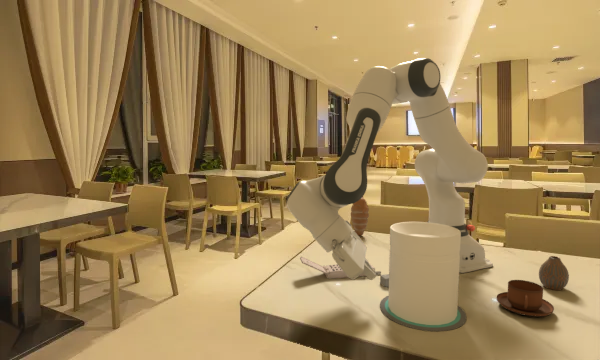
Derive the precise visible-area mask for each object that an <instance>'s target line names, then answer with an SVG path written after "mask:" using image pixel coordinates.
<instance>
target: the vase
mask: <svg viewBox="0 0 600 360" xmlns="http://www.w3.org/2000/svg"><path fill="white" fill-rule="evenodd" d="M538 279H539V281H540V283H541V284H542V285H543V286H544V287H545V288H547V289H550V290H553V291H560V290H563V289H565V288H566V286H568V283H569V279H570V274H569V270H568V269H567V267H566V265H565V264H564V263H563V261H562V260H561V257H559V256H556V255H555V256H554V255H550V256H549V257H548V259H546V261H544V262H543V263H542V264H541V265H540V267H539V270H538Z"/></svg>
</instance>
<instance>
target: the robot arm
mask: <svg viewBox="0 0 600 360" xmlns="http://www.w3.org/2000/svg"><path fill="white" fill-rule="evenodd" d="M407 102H408V103H409V104H410V105H409V106H410V109H411V114H412V117H413V119H414V123H415V125H416V128H417V131H418V134H419V136H420V139H421V140H422V141H423V142H424V144H426V145H429V146H430V147H431V148H429V149H425V150H422V151H420V152H419V153H418V154H417V155H416V157H415V159H414V170H415V172H416V173H417V175H418V176H419V177H420V178H421V179H422V181H423V183H424V186H425V189H426V192H427V196H428V221H427V222H429V223H437V224H443V225H448V226H451V227H454V228H456V229H458V230H460V232H461V240H460V252H459V255H460V262H459V274H463V273H468V272H474V271H478V270H482V269H487V268H491V267H492V268H493V267H494V265H493V262H492V261H491V260H490V259H487V258H486V251H485V248H484V246H483V245H482V244H481V243H479V242H478V241H477V240H476V239H475V238H474V237H472V236H471V235H470V234H469V231H470V232H475V230H476V226H475V225H473V224H466V223H465V217H466V216H465V213H466V210H465V209H466V202H465V199H464V198H463V196H462V195H461V194H460V193H458V191H457V190H456V187H455V184H472V183H479V182H480V181H482V180H483V179H484V178H485V176H486V174H487V172H488V168H489V167H488V166H489V163H488V160H487V158H486V156H485V154H484V153H482V152H481V151H479V150H477V149H476V148H474V147H473V145H471V144H470V143H469V141H468V140H467V139H466V138H465V137H464V136H463V134H462V132H460V130H459V129H458V126H457V124H456V121H455V119H454V115H453V113H452V109H451V107H450V103H449V100H448V98H447V94H446V93H445V90H444V88H443V86H442V84H441V71H440V68H439V66H438V65H437V63H436V62H435V61H434V60H433V59H430V58H426V57H420V58H416V59H414V60H411V61H406V62H402V63H399V64H396V65H395V66H392V67H390V68H388V67H386V66H382V65H381V66H380V65H377V66H372V67H370V68H369V69H367V70H366V71H365V73H364V74H363V76H362V77H361V79H360V80H359V82H358V84H357V85H356V88H355V90H354V91H353V95H352V97H351V99H350V102H349V103H348V104H349V105H348V107H347V108H348V109H347V112H346V119H345V120H346V123H347V124H348V127H349V128H350V132H349V133H348V138H347V139H346V143H345V146H344V149H343V151H342V153H341V156H340V157H339V159H337V160H336V161H335V162H334V163H333V164H332V165H331V166H330V167H329V168H328V169H327V171H326V173H325V174H324V175H321V176H319V177H317V178H313V179H307V180H300V181H299V182H297V183H296V185H294V187H293V188H292V189H291V190H290V192H289V194H288V196H287V198H286V207H287V209H288V210H289V212H290V213H291V215H292V216H293V217H294V218H295V219H296V221H297V222H298V223H299V225H301V226H302V227H303V228H305V229H306V230H307V231H309V233H310V234H311V235H312V236H311V237H313V239H314V240H315V241H316V242H317V243H318V244H319V245H320V246H321V248H322V249H323V250H324V251H325V252H326V253H330V252H331V251H332V253H331V255H332V258H333V260H334V261H335V263H336V264H338V265H339V266H340V268H341V269H342V270H343V271H344V272H345V273H346V275H347V276H348V277H347V278H349V279H351V280H355V279H357V278H358V276H359V275H360V274H361V273H363V274H364V275H366V276H365V277H367V279H369V280H371V281H372V280H374V279H375V278H376V276H377V274H376V271H377V270H376V269H375V270H374V269H373V268H372V267H371V265H372V264H371V263H370V262H369V259H368V258H366V254H367V250H368V249H367V246H366V244H365V242H364V241H363V239H362V238H361V236H358V235H357V234H356V233H355V231H354V228H353V226H352V224H351V223H350V222H349V221H348V220H345V219H344V218H343V217H342V216H341V214H339V210H340V209H342V208H344V207H347V206H349V205H353V203H355V202H357V201H359V200H360V199H361V198H362V197H363V198H364V195H365V194H366V192H367V189H368V174H367V173H368V170H367V169H368V167H367V166H368V163H369V162H368V161H369V158H370V155H371V152H372V150H373V146H374V143H375V140H376V137H377V136H378V134H379V132H380V131H381V129H382V128H383V126H384V125H385V123H386V120H387V119H388V116H389V114H390V111H391V108H392V105H396V104H404V103H407ZM454 183H455V184H454ZM370 264H371V265H370ZM359 277H360V276H359Z"/></svg>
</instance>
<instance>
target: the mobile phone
mask: <svg viewBox="0 0 600 360" xmlns="http://www.w3.org/2000/svg"><path fill="white" fill-rule="evenodd" d="M299 259H300V261H301V263H302V264H304V265H305V266H308V267H310V268H313V269H314V270H317V271H319V272H321V273H323V274H324V275H325V277H326V278H327V279H340V278H341V279H343V278H344V279H345V278H349V277H348V276H347V275H346V273H345V272H344V271H343V270H342V269H341V268H340V266H339V265H338V264H337V263H336V264H328V265H323V266H322V265H320V264H318V263H316V262H314V261H311V260H310V259H308V258H305V257H303V256H300V257H299ZM370 265H371V267H372V268H373V269H374V270H375V271H376V275H378V274H379V275H382V271H381V270H376V268H375V267H374V266H373V265H372V263H370ZM358 277H367V276H366V275H364V274H363V273H361V274H360V275H359V276H358ZM358 277H357V278H358Z"/></svg>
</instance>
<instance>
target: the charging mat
mask: <svg viewBox="0 0 600 360" xmlns="http://www.w3.org/2000/svg"><path fill="white" fill-rule="evenodd" d="M379 275H380V276H379V277H380V278H379V281H380V284H381V285H382V286H383V287H385V288H389V273H388V274H387V273H386V274H379ZM388 298H389V295H387V296H385V297H383V298H382V299H381V300H380V303H379V308H380V311H381V313H382V314H384V316H385V317H387V318H388V319H389V320H391V321H392V322H394V323H396V324H398V325H401V326H404V327H407V328H411V329H413V330H414V329H415V330H419V331H426V332H444V331H445V332H447V331H452V330H455V329H458V328H460V327H462V326H463V325H464V324H465V323H466V322H467V315H466V314H467V313H466V312H465V310H464V309H463V308H462V307H461V306H459V305H458V307H457V317H456V318H455V320H454V321H452V322H450V323H447V324H442V325H425V324H417V323H414V322H410V321H407V320H404V319H402V318H400V317H398V316H396V315H395V314H394V313H392V312H391V310H390V309H389V307H388Z"/></svg>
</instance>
